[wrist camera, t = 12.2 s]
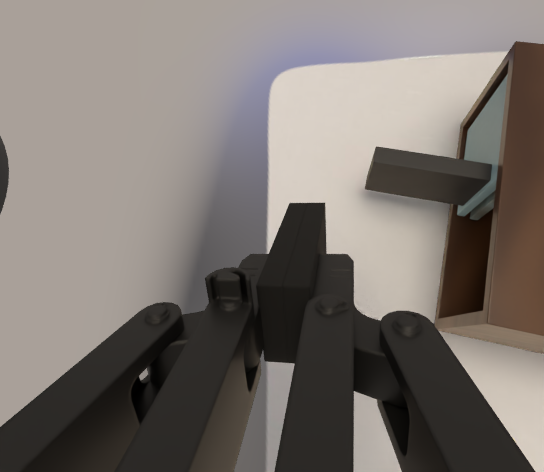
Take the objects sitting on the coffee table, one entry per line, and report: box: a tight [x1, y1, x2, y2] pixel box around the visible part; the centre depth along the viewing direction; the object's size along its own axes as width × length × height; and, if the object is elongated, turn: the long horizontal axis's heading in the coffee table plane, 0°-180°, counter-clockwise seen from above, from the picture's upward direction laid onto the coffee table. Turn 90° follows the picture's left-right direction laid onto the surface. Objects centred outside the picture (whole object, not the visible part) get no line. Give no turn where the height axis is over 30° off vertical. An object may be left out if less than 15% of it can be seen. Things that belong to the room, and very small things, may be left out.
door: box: [365, 74, 508, 216], centre depth 29 cm, size 8×8×8 cm
